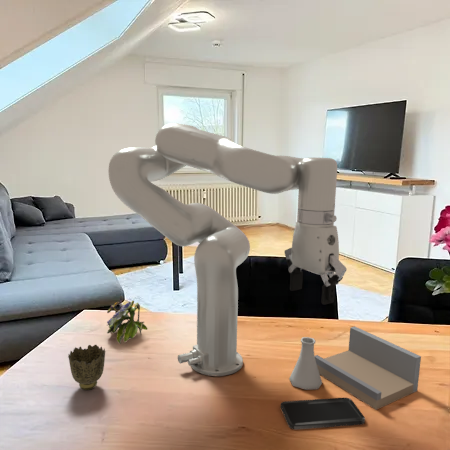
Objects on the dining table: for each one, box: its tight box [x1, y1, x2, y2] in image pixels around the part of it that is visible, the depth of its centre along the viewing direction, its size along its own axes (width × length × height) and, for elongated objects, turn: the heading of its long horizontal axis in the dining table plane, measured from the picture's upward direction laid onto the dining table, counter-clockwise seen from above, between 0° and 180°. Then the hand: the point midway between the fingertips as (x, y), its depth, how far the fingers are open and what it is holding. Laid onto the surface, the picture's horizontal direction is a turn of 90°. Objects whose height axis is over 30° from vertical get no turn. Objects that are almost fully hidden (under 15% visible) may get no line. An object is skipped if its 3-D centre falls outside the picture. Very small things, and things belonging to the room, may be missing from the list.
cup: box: [67, 344, 106, 391], centre depth 90 cm, size 8×7×8 cm
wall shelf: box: [314, 325, 422, 410], centre depth 95 cm, size 14×18×8 cm
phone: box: [280, 397, 366, 430], centre depth 83 cm, size 8×1×15 cm
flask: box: [288, 336, 323, 391], centre depth 93 cm, size 7×7×10 cm
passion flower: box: [106, 300, 148, 345], centre depth 116 cm, size 11×11×12 cm
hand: (311, 296), depth 91 cm, fingers open, 9 cm apart
